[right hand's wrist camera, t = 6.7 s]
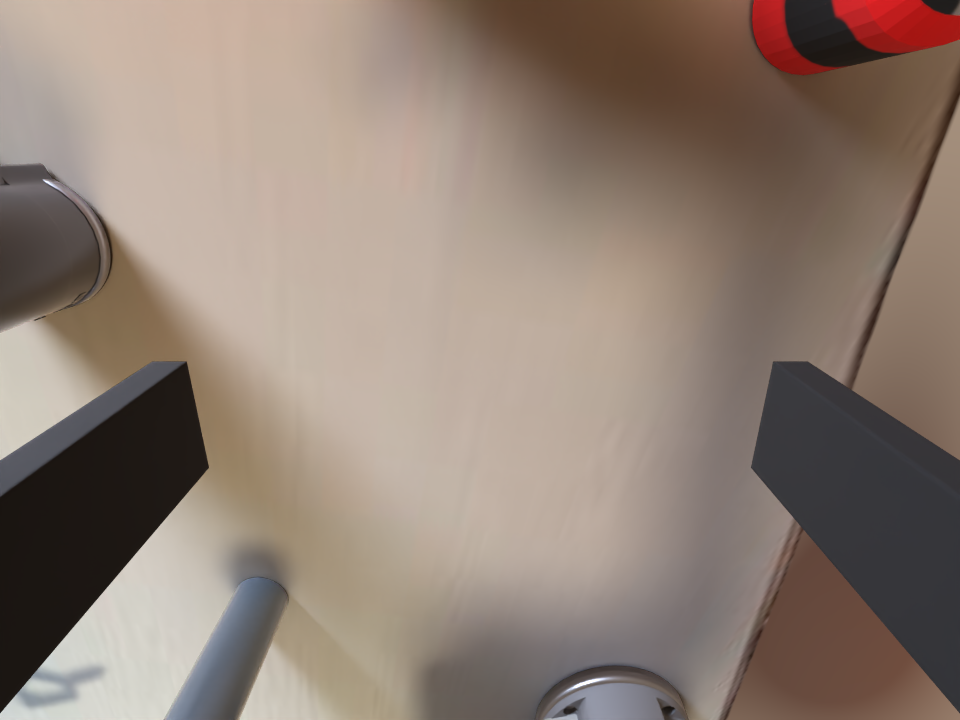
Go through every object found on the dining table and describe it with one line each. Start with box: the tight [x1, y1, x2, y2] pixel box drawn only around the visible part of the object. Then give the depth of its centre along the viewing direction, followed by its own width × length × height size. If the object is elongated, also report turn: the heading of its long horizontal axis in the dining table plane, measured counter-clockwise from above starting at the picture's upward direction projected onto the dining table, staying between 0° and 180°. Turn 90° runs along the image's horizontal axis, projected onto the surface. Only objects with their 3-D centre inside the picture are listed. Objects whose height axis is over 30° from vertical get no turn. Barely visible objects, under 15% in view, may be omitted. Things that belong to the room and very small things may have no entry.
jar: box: [164, 577, 288, 720], centre depth 42 cm, size 5×5×19 cm
